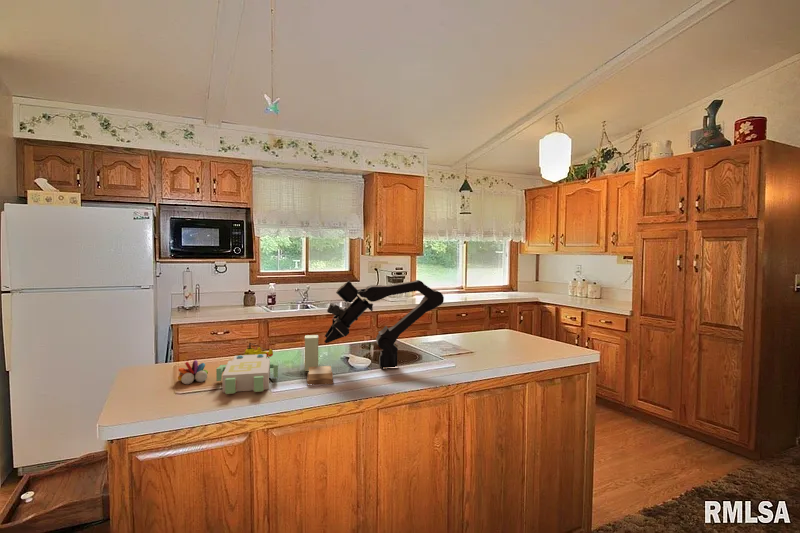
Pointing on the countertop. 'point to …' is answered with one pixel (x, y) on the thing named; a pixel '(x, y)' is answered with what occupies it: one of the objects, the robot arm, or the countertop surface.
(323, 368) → the upper slab
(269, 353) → the toy helicopter
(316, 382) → the lower slab
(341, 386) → the countertop surface
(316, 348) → the pillar
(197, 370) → the rainbow peg wheeled toy
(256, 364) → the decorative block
